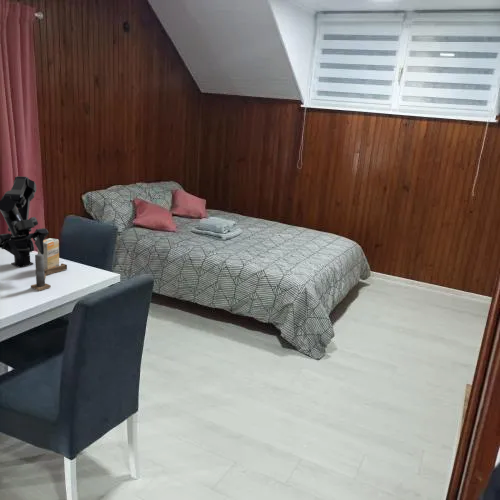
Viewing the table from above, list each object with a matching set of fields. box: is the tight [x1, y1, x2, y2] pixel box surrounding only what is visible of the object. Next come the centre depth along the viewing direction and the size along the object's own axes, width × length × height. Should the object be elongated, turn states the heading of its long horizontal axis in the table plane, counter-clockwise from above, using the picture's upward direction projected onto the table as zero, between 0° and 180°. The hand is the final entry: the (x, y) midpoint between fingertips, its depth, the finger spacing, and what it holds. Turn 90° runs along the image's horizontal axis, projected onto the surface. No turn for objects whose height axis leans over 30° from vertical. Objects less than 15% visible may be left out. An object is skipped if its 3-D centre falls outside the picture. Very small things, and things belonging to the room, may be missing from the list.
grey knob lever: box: [30, 253, 68, 292], centre depth 188 cm, size 16×22×13 cm
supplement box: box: [37, 237, 60, 269], centre depth 198 cm, size 8×5×13 cm, turn 167°
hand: (31, 256), depth 180 cm, fingers open, 9 cm apart
